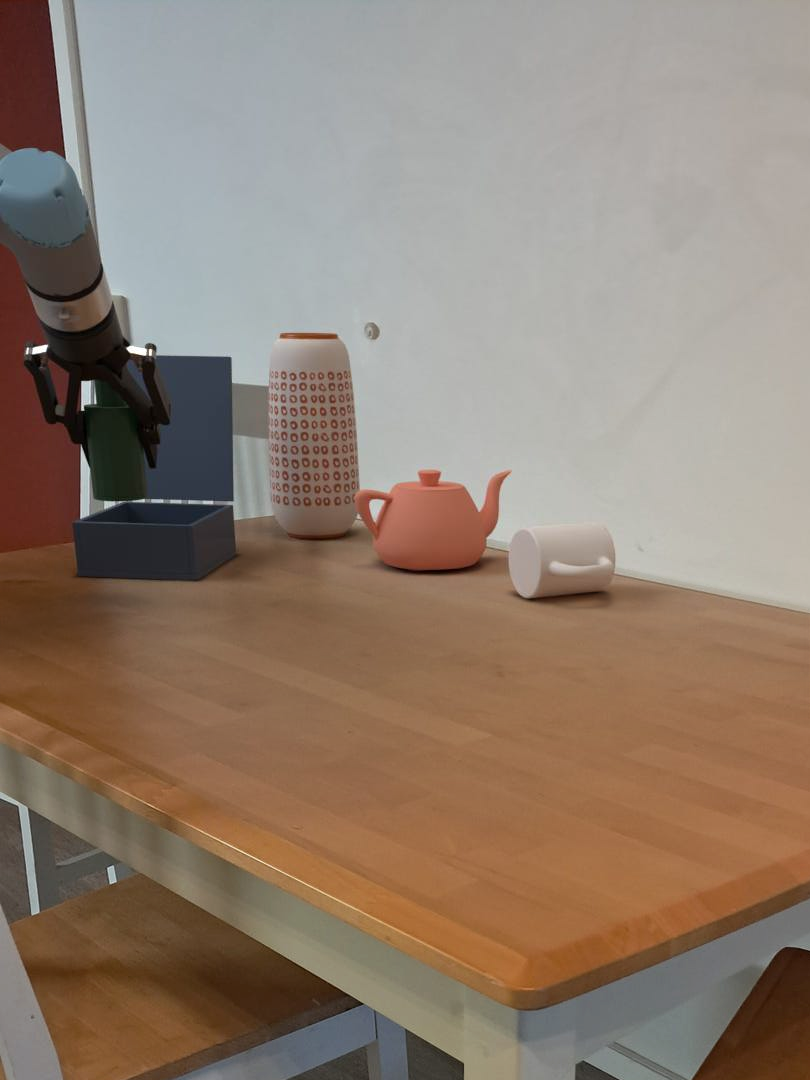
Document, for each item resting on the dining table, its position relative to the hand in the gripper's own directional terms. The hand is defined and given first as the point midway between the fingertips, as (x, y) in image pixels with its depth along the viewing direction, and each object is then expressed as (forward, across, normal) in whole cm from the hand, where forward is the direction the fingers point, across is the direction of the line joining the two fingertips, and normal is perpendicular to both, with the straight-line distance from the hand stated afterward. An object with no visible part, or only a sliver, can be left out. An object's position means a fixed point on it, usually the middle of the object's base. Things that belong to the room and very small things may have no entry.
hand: (123, 458), depth 148 cm
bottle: (0, 0, -5) cm, 5 cm away
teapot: (+24, +37, +2) cm, 44 cm away
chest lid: (+19, +2, +20) cm, 27 cm away
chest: (+23, 0, +1) cm, 23 cm away
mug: (+9, +52, -13) cm, 55 cm away
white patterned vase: (+41, +19, +18) cm, 48 cm away
